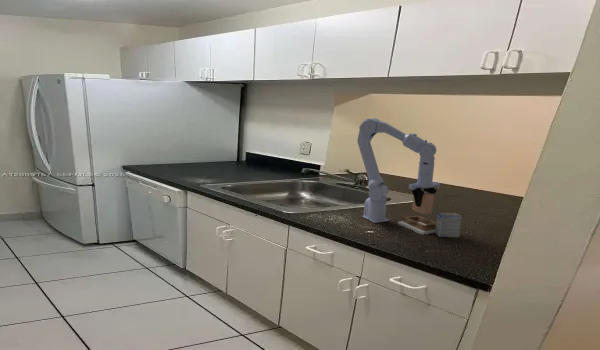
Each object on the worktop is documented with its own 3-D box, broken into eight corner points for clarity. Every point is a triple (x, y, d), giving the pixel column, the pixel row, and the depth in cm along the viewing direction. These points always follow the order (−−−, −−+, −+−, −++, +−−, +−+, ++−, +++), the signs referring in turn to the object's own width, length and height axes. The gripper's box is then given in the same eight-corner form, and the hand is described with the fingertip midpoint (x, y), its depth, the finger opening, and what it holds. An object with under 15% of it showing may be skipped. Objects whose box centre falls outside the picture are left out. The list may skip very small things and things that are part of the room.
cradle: (397, 223, 149) (398, 217, 149) (418, 220, 155) (419, 214, 154) (422, 234, 137) (423, 227, 137) (444, 231, 142) (445, 224, 142)
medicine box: (454, 233, 140) (456, 212, 138) (459, 237, 136) (462, 216, 134) (434, 233, 140) (437, 212, 138) (439, 237, 135) (442, 215, 134)
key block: (424, 214, 141) (426, 195, 139) (412, 209, 147) (413, 190, 145) (431, 213, 142) (433, 194, 141) (419, 208, 148) (421, 190, 147)
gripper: (418, 175, 135) (415, 209, 138) (446, 174, 141) (442, 206, 143) (406, 172, 141) (403, 205, 144) (433, 171, 147) (430, 202, 150)
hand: (422, 205), depth 144 cm, fingers closed on key block, 4 cm apart
